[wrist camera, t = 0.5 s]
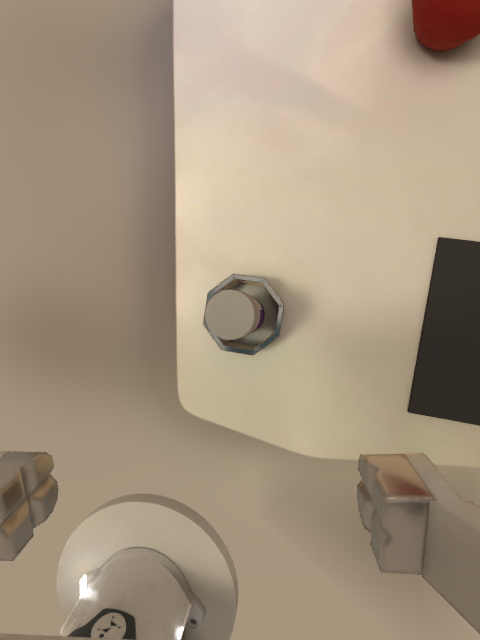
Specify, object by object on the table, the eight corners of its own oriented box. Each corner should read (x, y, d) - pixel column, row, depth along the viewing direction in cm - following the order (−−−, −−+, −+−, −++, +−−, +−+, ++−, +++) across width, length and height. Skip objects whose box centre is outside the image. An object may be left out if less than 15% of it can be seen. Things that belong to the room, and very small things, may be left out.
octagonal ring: (276, 354, 43) (275, 359, 38) (208, 342, 44) (199, 346, 39) (287, 285, 43) (287, 281, 38) (218, 275, 44) (210, 270, 39)
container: (248, 339, 43) (231, 352, 29) (222, 315, 44) (192, 317, 29) (272, 312, 43) (267, 312, 28) (245, 289, 43) (227, 277, 29)
